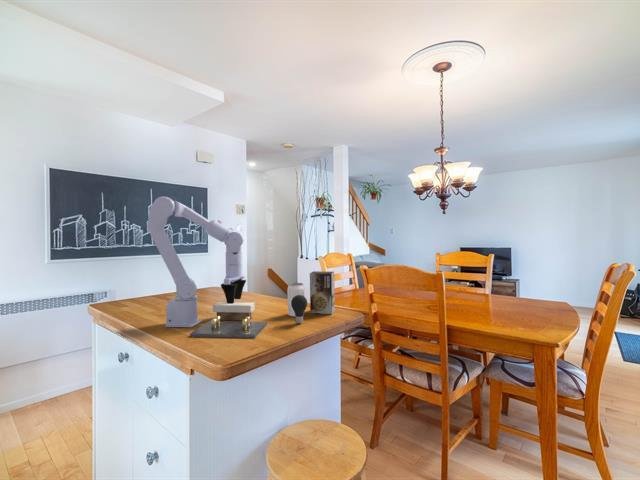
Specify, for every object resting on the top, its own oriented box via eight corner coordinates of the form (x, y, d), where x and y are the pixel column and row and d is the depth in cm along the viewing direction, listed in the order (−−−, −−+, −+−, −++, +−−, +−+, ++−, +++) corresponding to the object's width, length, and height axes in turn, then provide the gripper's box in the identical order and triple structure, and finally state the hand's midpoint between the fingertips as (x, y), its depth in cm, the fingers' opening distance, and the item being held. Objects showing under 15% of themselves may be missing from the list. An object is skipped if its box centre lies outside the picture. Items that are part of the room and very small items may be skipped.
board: (212, 312, 110) (212, 305, 110) (218, 308, 115) (218, 302, 115) (250, 312, 109) (250, 305, 109) (254, 309, 114) (254, 302, 114)
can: (301, 317, 114) (301, 285, 114) (285, 316, 115) (285, 284, 115) (306, 313, 120) (306, 282, 120) (290, 312, 121) (290, 282, 121)
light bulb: (292, 326, 102) (292, 296, 102) (290, 321, 108) (290, 293, 108) (308, 325, 103) (308, 296, 103) (306, 321, 109) (305, 293, 109)
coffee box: (335, 310, 124) (335, 271, 124) (332, 314, 118) (332, 273, 118) (313, 309, 126) (313, 270, 126) (309, 313, 120) (309, 272, 120)
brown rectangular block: (216, 319, 111) (216, 311, 111) (219, 317, 114) (219, 309, 114) (248, 320, 110) (248, 311, 110) (251, 317, 113) (251, 309, 113)
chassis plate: (190, 336, 92) (190, 323, 92) (210, 323, 106) (210, 312, 106) (255, 338, 90) (255, 324, 90) (266, 324, 104) (266, 313, 104)
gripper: (237, 266, 105) (238, 305, 105) (250, 262, 119) (250, 297, 119) (217, 266, 105) (218, 305, 105) (232, 262, 120) (233, 297, 120)
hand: (234, 301), depth 112 cm, fingers open, 7 cm apart
